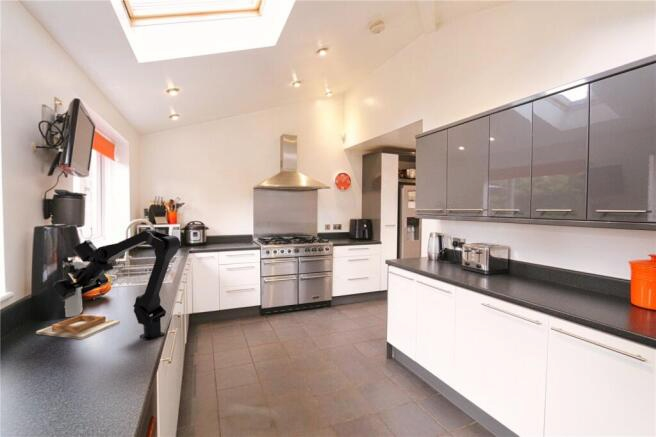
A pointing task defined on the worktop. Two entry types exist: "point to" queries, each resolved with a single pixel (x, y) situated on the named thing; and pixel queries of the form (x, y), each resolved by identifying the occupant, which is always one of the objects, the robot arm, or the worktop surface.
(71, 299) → the skincare box
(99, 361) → the worktop surface
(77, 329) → the socket stand
